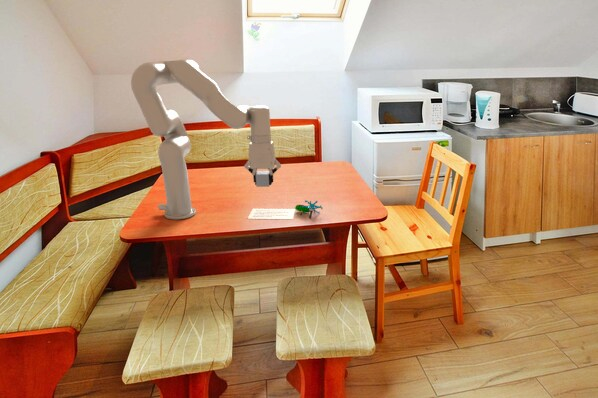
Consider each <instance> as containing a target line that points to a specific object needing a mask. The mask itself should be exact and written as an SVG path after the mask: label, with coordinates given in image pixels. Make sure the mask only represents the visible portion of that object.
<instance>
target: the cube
mask: <svg viewBox="0 0 598 398" xmlns="http://www.w3.org/2000/svg"><path fill="white" fill-rule="evenodd" d="M255 186H256V187H257V188H258V187H261V188H265V187H266V188H269V187H270V186H271V185H269V170H257V173H256V185H255Z"/></svg>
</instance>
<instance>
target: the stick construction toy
mask: <svg viewBox="0 0 598 398" xmlns="http://www.w3.org/2000/svg"><path fill="white" fill-rule="evenodd" d="M304 203H307V204H308V205H304V204H297V205H295V207H294V209H295V211H298V212H299V213H300V216H302V215H303V213H307V214H309V216H308V219H312V214H313V213H317V214H318V215H320V213H321V212H320V211H317V210H316V209H321V210H323V206H322V205H316V204H317V203H318V200H316V201H315V202H313V203H312V201H311V200H310V201H308V200H306V199H305V201H304Z"/></svg>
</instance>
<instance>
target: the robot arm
mask: <svg viewBox="0 0 598 398" xmlns="http://www.w3.org/2000/svg"><path fill="white" fill-rule="evenodd" d="M168 84H179V85H180V86H181V87H183V88H184V89H185V90H187V91H188V92H190V94H192V95H193V96H195V98H197V99H199V101H201V102H202V103H203V104H204V105H205V106H206V108H207V109H208V110H209V111H210V113H212V114H213V115H214V116H215V117H216V118H217V119H219V120H220V121H221V122H223V124H226V125H227V126H228V127H230V128H231V129H235V130H239V129H242V128H244V127H245V126H246V125H248V124H249V125H250V127H249V128H250V135H247V140H248V141H250V142H249V144H248V160H247V161H246V163H245V164H244V165H243V167H244V169H246V170H247V171H248V172H250V173H251V174H252V177H253V183H254V185H255V186H256V173H257V172H258V170H264V169H265V170H267V171H269V185H270V186H271V185H272V184H273V183H274V174H275V173H276V172H277V171H278V170H280V168H281V167H282V164H281V163H280V162H279V161H278V160H277V159H276V153H275V146H274V142H273V141H272V136H271V135H272V133H271V132H272V131H271V116H270V108H269V107H268V106H266V105H255V106H251V105H250V106H249V105H242V104H241V105H240V104H239V105H234V103H232V102H231V101H230V100H228V99H227V97H225V95H224V94H223V93H222V92H221V89H220V88H219V86H218V84H217V83H216V82H215V81H214V80H213V79H211V78H210V77H209V76H208V75H206V74H205V73H204V72H202V70H200V67H199V65H198V63H197V62H195V61H194V59H193V60H192V59H189V58H186V59H182V58H181V59H177V60H165V61H164V60H163V61H162V60H160V61H150V62H149V61H148V62H145V63H142V64H140V65H138V66H137V68H136V69H135V70H134V72H133V73H132V76H131V80H130V85H131V90H132V93H133V95H134V98H135V100H136V102H137V104H138V106H139V108H140V110H141V112H142V115H143V117H144V119H145V121H146V123H147V126H148V128H149V130H150V131H151V133H152V134H153V135H154V136H156V137H161V138H162V137H164V138H163V139H164V140H163V141H162V142H161V144H159V147H158V149H157V150H158V151H157V152H158V153H157V155H158V159H159V162H160V163H159V164H160V166H161V171H162V177H163V183H164V192H165V198H166V203H165V204H164V203H159V204H157V207H158V210H159V211H164V217H165V218H166V219H168V220H176V221H177V220H184V219H189V218H191V217H193V216H194V215H196V213H197V210H196V208H195V207H194V206H192V199H191V198H192V197H191V189H190V182H189V174H188V169H187V167H188V166H187V164H186V161H185V157H186V156H187V155H188V154H190V152H191V149H192V142H191V140H190V137H189V135H188V132H187V130H186V127H185V125H184V124H183V121H182V119H181V116H180V115H179V114H178V113H177V112H176V111H175V110H173V109H170V108H167V107H166V106H165V104H164V102H163V99H162V97H161V96H160V94H159V93H158V91H157V89H156V87H157V86H160V85H161V86H162V85H168Z"/></svg>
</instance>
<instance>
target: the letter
mask: <svg viewBox="0 0 598 398" xmlns="http://www.w3.org/2000/svg"><path fill="white" fill-rule="evenodd" d="M295 211H296V209H295V208H252V210H251V211H250V213H249V215H248V217H247V220H294V216H295V213H296V212H295Z"/></svg>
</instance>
